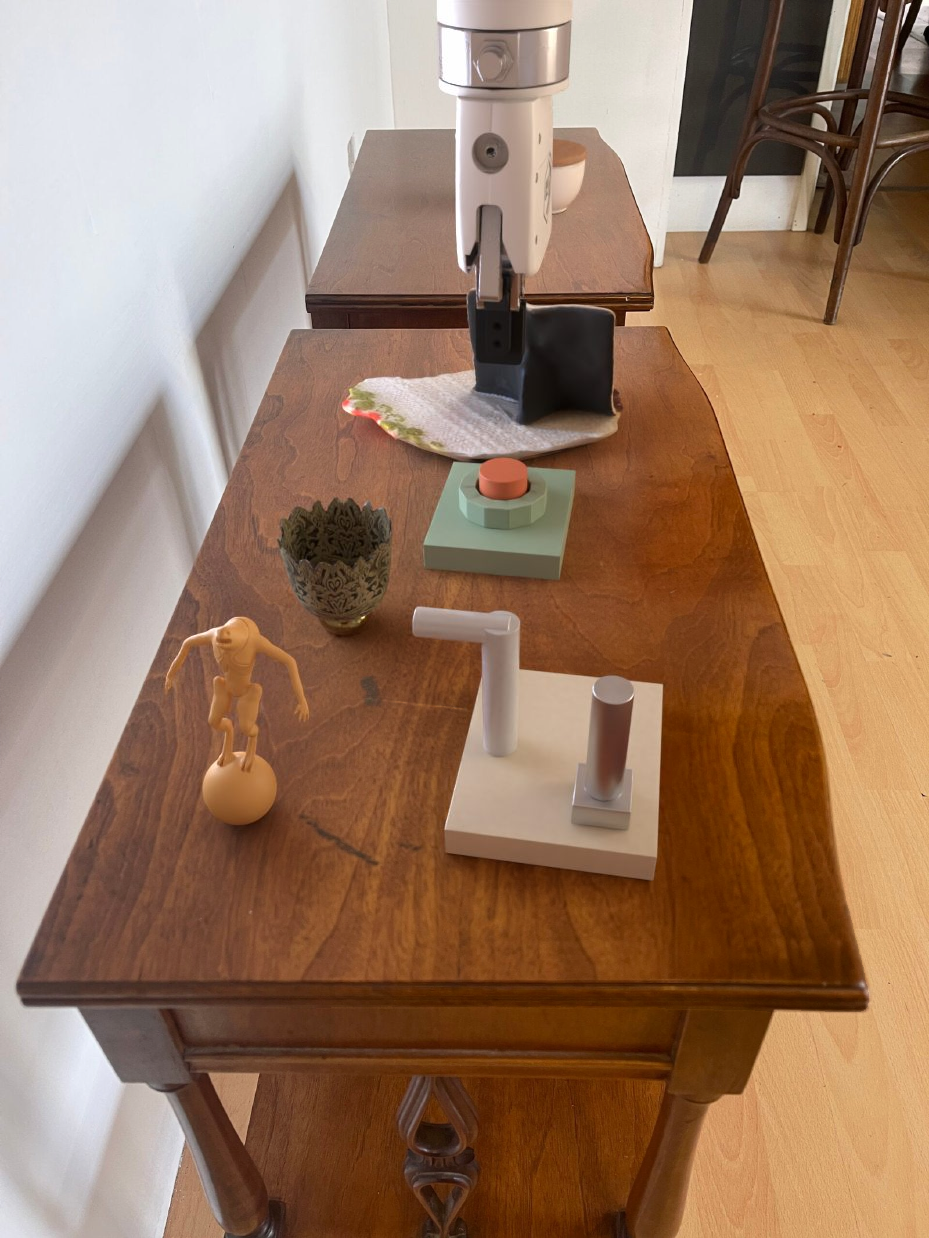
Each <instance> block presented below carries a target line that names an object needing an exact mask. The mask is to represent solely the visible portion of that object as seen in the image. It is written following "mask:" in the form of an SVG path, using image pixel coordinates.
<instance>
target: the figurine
mask: <svg viewBox="0 0 929 1238" xmlns="http://www.w3.org/2000/svg"><path fill="white" fill-rule="evenodd" d="M207 645H212V651H213V657H214V659H215V661H216V663H217V664H218V666H220V669H221V672H222V673H223V674H224V676H220V675H217V676H215V677H214V678H213V680H212V683H213V696H212V700H211V705H210V712H209V716H208V718H207V722H208V724H209V725H210V727H211V728H212V729H214V730H218V731H221V732H225V733H224V738H223V744H222V745H223V746H222V750H221V754H220V755H219V756H218V757H217V760H215V761H214V762H213V763H212V764H211V765H210V767H209V768H208V770H207V771H206V773H205V775H204V778H203V782H202V797H203V798H202V799H203V801H204V804H205V806H206V808H207V809H208V812H210V813H211V815H213V817H214V818H216V819H217V820H219V821H221V822H222V823H224V824H227V825H233V826H245V825H249V824H252V823H255V822H257V821H258V820H259V819H262V818H263V817H264V816H265V815H266V814H267V813H268V812H269V811H270V809H271V808H272V806H273V804H274V803H275V800H276V798H277V797H276V796H277V792H278V783H277V777H276V774H275V772H274V770H273V768H272V767H271V765H270V764H269V763H268V762H267V761H266V760H265V759H264V758H263V757H262V756H260V755H257V754H256V751H257V744H258V734H259V726H258V725H257V724H256V721H257V718H258V715H259V708H260V700H261V698H262V696H263V687H262V686H261V685H260V684H259V683H256V682H254V683H251V679H252V672H253V669H254V666H255V663H256V659H257V654H262V655H265V656H267V657H268V658H270V659H272V660H274V661H276V662H278V663H280V664H282V665H285V666H286V669H287V672H288V676H289V677H290V681H291V686H292V689H293V692H294V694H295V696H296V699H297V700H298V703H299V704H298V705H297V706H296V708H295V710H294V713H293V714H294V715H296V714H297V713H298V712H299V714H298V715H299V716H298V723H301V721H302V719H303V723H305V722H306V720H308V721H309V718H310V710H309V706H308V702H307V700H306V696H305V692H304V687H303V684H302V681H301V677H300V675H299V669H298V664H297V661H296V659H294V657H293V656H291V655H290V654H289V653H287V651H284V650H283V649H281V648H280V647H278V646H276V645H274V644H273V643H271V642H270V641H269V639H267V637H264V636H263V635H261V633H260V630H259V627H258V625H257V624H256V623H255V622H254V621H253V620H252V619H250V618H249V617H246V616H235V617H232V618H231V619H229V620H228V621H227V622H226V623H225V624H223V625H222V626H218V627H213V628H211V629H209V630H207V631H205V632H201V633H197V634H194V635H191V636H189V637H187V638H186V639H185V640H184V641H183V642H182V645H181V647H180V650H179V652H178V654H177V655H176V657H175V659H174V660H173V661H172V663H171V664H170V668H169V670H168V672H167V675H166V678H165V685H164V694H165V695H166V696H168V694H169V690H170V689H171V687H172V678H173V677H174V675H176V674H177V672H178V671H179V670H180V669H181V667H182V665H183V664H184V662H185V660H186V658H187V656H188V655H189V653H190V649H191V648H192V647H201V646H207ZM233 697H234V698H239V699H238V701H237V702H236V707H235V711H236V716H237V717H238V725H239V729H240V731H241V732H242V734H243V735H244V736H247V737H248V739H247V745H246V750H245V751H234V752H233V745H234V734H235V733H234V732H235V730H234V726H233V722H232V720H231V719H229V718H228V717H224V716H225V715H226V714H228V713H229V712H230V711H231V709H232V704H233ZM302 717H303V718H302Z"/></svg>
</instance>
